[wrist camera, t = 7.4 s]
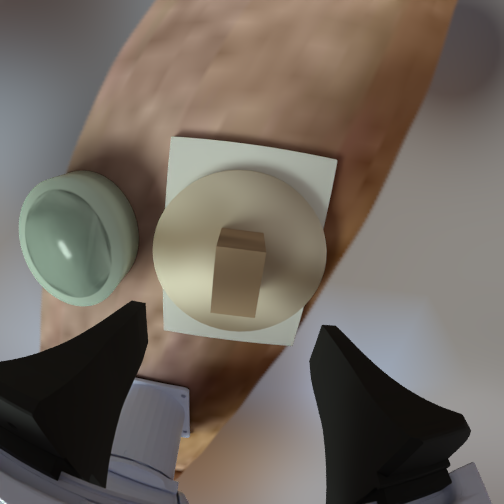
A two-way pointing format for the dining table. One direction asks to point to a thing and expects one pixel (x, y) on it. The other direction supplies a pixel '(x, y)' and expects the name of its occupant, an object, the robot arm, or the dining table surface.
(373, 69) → the dining table surface
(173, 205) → the lid
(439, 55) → the dining table surface
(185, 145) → the mat
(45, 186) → the bowl
